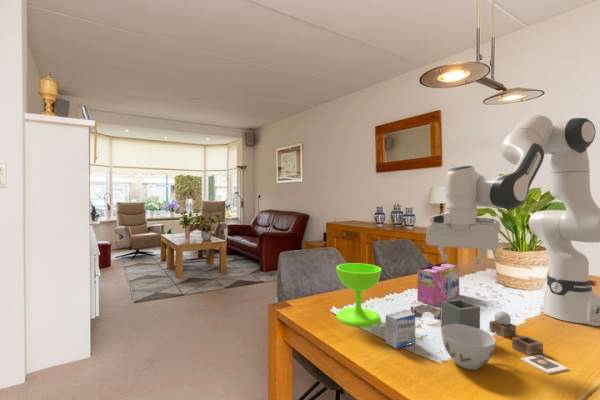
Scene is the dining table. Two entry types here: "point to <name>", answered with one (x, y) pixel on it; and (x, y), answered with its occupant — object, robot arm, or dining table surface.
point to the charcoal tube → (460, 313)
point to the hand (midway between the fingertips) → (460, 261)
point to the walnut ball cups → (518, 339)
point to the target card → (544, 364)
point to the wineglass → (358, 293)
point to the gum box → (438, 283)
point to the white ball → (502, 318)
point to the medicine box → (400, 329)
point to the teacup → (468, 345)
